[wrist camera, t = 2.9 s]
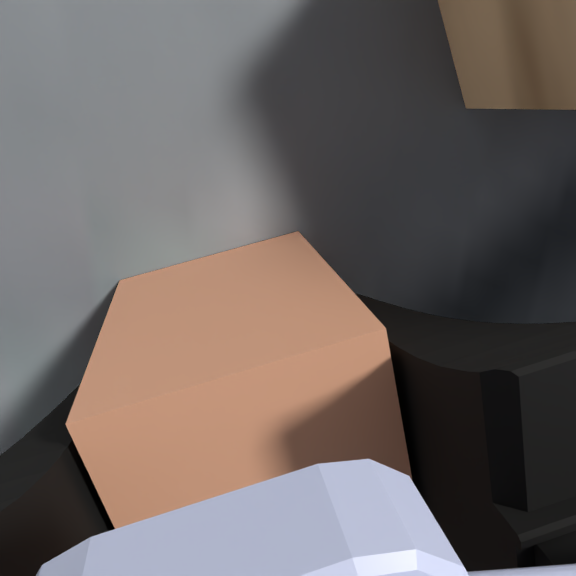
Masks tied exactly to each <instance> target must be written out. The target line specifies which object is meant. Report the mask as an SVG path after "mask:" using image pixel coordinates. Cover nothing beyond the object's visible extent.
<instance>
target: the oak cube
mask: <svg viewBox="0 0 576 576" xmlns="http://www.w3.org/2000/svg"><path fill="white" fill-rule="evenodd" d="M438 3H439V7H440V11H441V15H442V19H443V22H444V26H445V30H446V34H447V38H448V42H449V45H450V49H451V53H452V57H453V61H454V65H455V68H456V72H457V76H458V80H459V84H460V88H461V91H462V95H463V99H464V103H465V107H466V109H554V110H576V0H438Z"/></svg>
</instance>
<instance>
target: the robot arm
mask: <svg viewBox="0 0 576 576" xmlns="http://www.w3.org/2000/svg"><path fill="white" fill-rule="evenodd" d="M356 296H357V297H358V298H359V299H360V300H361V301H362V302H363V303H364V304H365V306H366V307H367V308H368V309H369V310H370V311H371V312H372V313H373V314H374V315H375V317H376V318H377V319H378V320H379V321H380V322H381V323H382V324H383V325H384V327H385V328H386V331H387V337H388V343H389V348H390V354H391V360H392V366H393V371H394V377H395V383H396V389H397V394H398V400H399V406H400V412H401V417H402V423H403V429H404V435H405V440H406V446H407V452H408V458H409V463H410V469H411V475H412V480H411V478H410V476H408V475H406V474H404V473H401V472H399V471H397V470H394V469H392V468H390V467H387V466H385V465H383V464H380V463H378V462H376V461H373V460H371V459H361V460H351V461H341V462H330V463H320V464H315V465H312V466H309V467H306V468H303V469H300V470H297V471H294V472H290V473H287V474H284V475H281V476H278V477H275V478H272V479H269V480H266V481H263V482H259V483H256V484H253V485H250V486H247V487H244V488H241V489H238V490H235V491H232V492H228V493H225V494H222V495H219V496H216V497H213V498H210V499H207V500H204V501H201V502H197V503H194V504H191V505H188V506H185V507H182V508H179V509H176V510H173V511H170V512H166V513H163V514H160V515H157V516H154V517H151V518H148V519H145V520H142V521H139V522H135V523H132V524H129V525H126V526H123V527H120V528H117V529H115V528H114V526H113V524H112V522H111V519H110V517H109V515H108V513H107V511H106V509H105V507H104V505H103V503H102V500H101V498H100V496H99V494H98V492H97V490H96V488H95V486H94V484H93V482H92V479H91V477H90V475H89V473H88V471H87V469H86V467H85V465H84V463H83V461H82V458H81V456H80V454H79V452H78V450H77V448H76V446H75V444H74V442H73V439H72V437H71V435H70V433H69V431H68V429H67V427H66V425H65V424H66V421H67V419H68V416H69V413H70V411H71V408H72V405H73V403H74V400H75V397H76V395H77V392H78V389H79V387H80V385H79V386H78V387H77V388H76V389H75V390H74V391H73V392H72V393H71V394H70V395H69V396H68V397H67V398H66V399H65V400H64V401H63V402H61V403H60V404H59V405H58V406H57V407H56V408H55V409H54V410H53V411H52V412H51V413H50V414H49V415H48V416H46V417H45V418H44V419H43V420H42V421H41V422H40V423H39V424H37V425H36V426H35V427H34V428H33V429H32V430H31V431H30V432H29V433H27V434H26V435H25V436H24V437H23V438H22V439H20V440H19V441H18V442H17V443H16V444H14V445H13V446H12V447H11V448H9V449H8V450H7V451H6V452H4V453H3V454H2V455H0V576H576V322H564V323H544V324H511V323H488V322H476V321H468V320H460V319H452V318H446V317H440V316H435V315H430V314H426V313H421V312H417V311H413V310H409V309H405V308H402V307H398V306H395V305H391V304H388V303H385V302H382V301H378V300H375V299H372V298H369V297H366V296H362V295H359V294H356Z"/></svg>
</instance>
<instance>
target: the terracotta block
mask: <svg viewBox="0 0 576 576" xmlns="http://www.w3.org/2000/svg"><path fill="white" fill-rule="evenodd" d="M65 425H66V427H67V429H68V431H69V433H70V435H71V437H72V439H73V442H74V444H75V446H76V448H77V450H78V452H79V454H80V456H81V458H82V461H83V463H84V465H85V467H86V469H87V471H88V473H89V475H90V477H91V479H92V482H93V484H94V486H95V488H96V490H97V492H98V494H99V496H100V498H101V500H102V503H103V505H104V507H105V509H106V511H107V513H108V515H109V517H110V519H111V522H112V524H113V526H114V528H115V529H117V528H120V527H123V526H126V525H129V524H132V523H135V522H139V521H142V520H145V519H148V518H151V517H154V516H157V515H160V514H163V513H166V512H170V511H173V510H176V509H179V508H182V507H185V506H188V505H191V504H194V503H197V502H201V501H204V500H207V499H210V498H213V497H216V496H219V495H222V494H225V493H228V492H232V491H235V490H238V489H241V488H244V487H247V486H250V485H253V484H256V483H259V482H263V481H266V480H269V479H272V478H275V477H278V476H281V475H284V474H287V473H290V472H294V471H297V470H300V469H303V468H306V467H309V466H312V465H315V464H320V463H330V462H341V461H351V460H361V459H371V460H373V461H376V462H378V463H380V464H383V465H385V466H387V467H390V468H392V469H394V470H397V471H399V472H401V473H404V474H406V475H408V476H410V478H411V480H412V475H411V469H410V463H409V458H408V452H407V446H406V440H405V435H404V429H403V423H402V417H401V412H400V406H399V400H398V394H397V389H396V383H395V377H394V371H393V366H392V360H391V354H390V348H389V343H388V337H387V331H386V328H385V327H384V325H383V324H382V323H381V322H380V321H379V320H378V319H377V318H376V317H375V315H374V314H373V313H372V312H371V311H370V310H369V309H368V308H367V307H366V306H365V304H364V303H363V302H362V301H361V300H360V299H359V298H358V297H357V296H356V294H355V293H354V292H353V291H352V290H351V289H350V288H349V287H348V286H347V284H346V283H345V282H344V281H343V280H342V279H341V278H340V277H339V276H338V275H337V273H336V272H335V271H334V270H333V269H332V268H331V267H330V266H329V265H328V263H327V262H326V261H325V260H324V259H323V258H322V257H321V256H320V255H319V253H318V252H317V251H316V250H315V249H314V248H313V247H312V246H311V245H310V244H309V242H308V241H307V240H306V239H305V238H304V237H303V236H302V235H301V234H300V232H299V231H297V232H293V233H289V234H286V235H282V236H279V237H275V238H271V239H268V240H264V241H260V242H257V243H253V244H250V245H246V246H242V247H239V248H235V249H231V250H228V251H224V252H221V253H217V254H213V255H210V256H206V257H202V258H199V259H195V260H192V261H188V262H184V263H181V264H177V265H173V266H170V267H166V268H163V269H159V270H155V271H152V272H148V273H145V274H141V275H137V276H134V277H130V278H126V279H123V280H119V283H118V286H117V288H116V291H115V294H114V296H113V299H112V302H111V304H110V307H109V310H108V312H107V315H106V318H105V320H104V323H103V326H102V328H101V331H100V334H99V336H98V339H97V342H96V344H95V347H94V350H93V352H92V355H91V358H90V360H89V363H88V366H87V368H86V371H85V374H84V376H83V379H82V382H81V384H80V387H79V389H78V392H77V395H76V397H75V400H74V403H73V405H72V408H71V411H70V413H69V416H68V419H67V421H66V424H65Z"/></svg>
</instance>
